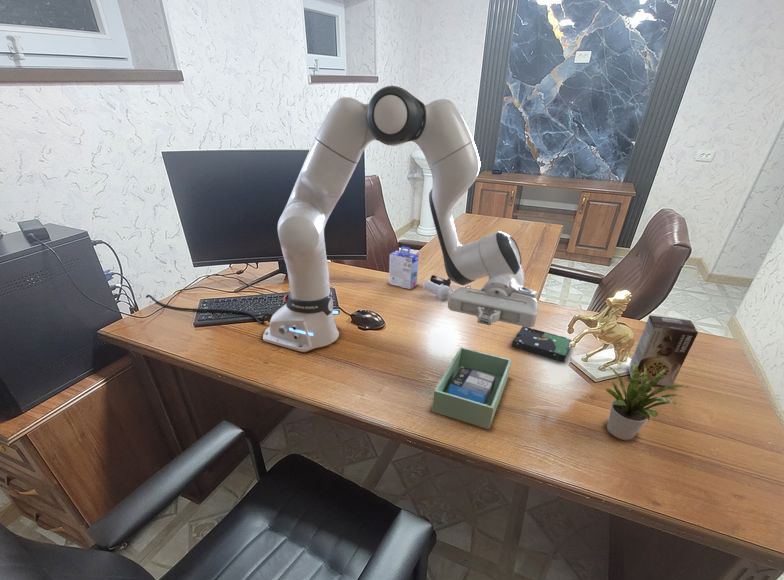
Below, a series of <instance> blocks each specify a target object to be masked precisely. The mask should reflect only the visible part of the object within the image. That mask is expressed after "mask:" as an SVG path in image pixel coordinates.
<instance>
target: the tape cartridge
mask: <svg viewBox="0 0 784 580" xmlns="http://www.w3.org/2000/svg"><path fill="white" fill-rule="evenodd" d="M494 384H495V376H493V375H489V374H486V373H482V372H479V371H476V370H472V369H469V368H465V367H461V368H460V369H459V371H458V372H457V374H456V375H455V377H454V378H453V380H452V381H451V383H450V385H449V389H448V394H452V395H455V396H459V397H462V398H465V399H469V400H472V401H476V402H479V403H482V404H486V402H487V400H488V398H489V397H490V395H491V393H492V391H493V389H494Z"/></svg>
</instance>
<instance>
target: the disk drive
mask: <svg viewBox="0 0 784 580" xmlns="http://www.w3.org/2000/svg"><path fill="white" fill-rule="evenodd" d="M571 341H572V339H571V338H567V337H565V336H562V335H558V334H553V333H550V332H547V331H542V330H539V329H535V328H533V327H524V326H521V328H520V329H519V331H518V332H517V333H516V335H515V337H514V338H513V339H512V342H511V346H510V347H511V348H513V349H515V350H518V351H521V352H525V353H528V354H532V355H535V356H538V357H541V358H545V359H549V360H552V361H555V362H558V363H563V364H564V363H565V362H566V359H567V358H568V356H569V353H570V351H571V348H572V347H569V343H570V342H571Z"/></svg>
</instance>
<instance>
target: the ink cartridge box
mask: <svg viewBox="0 0 784 580" xmlns="http://www.w3.org/2000/svg"><path fill="white" fill-rule="evenodd" d="M404 249H406V250H404ZM410 251H411V247H410V246H405V245H401V248H400V250H395V251H392V252H391V253H389V264H388V266H389V269H388V285H392V286H395V287H400V288H403V289H408V290H412V289H414V288H415V287H417V285H418V273H419V272H418V271H419V254H417V253H413V252H412V253H411V252H410Z"/></svg>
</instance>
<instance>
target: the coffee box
mask: <svg viewBox="0 0 784 580" xmlns="http://www.w3.org/2000/svg"><path fill="white" fill-rule="evenodd" d="M698 334H699V332H698V330H697V328H696V326H695V325H694V322H692V320H690V319H683V318H675V317H667V316H660V315H653V314H652V315H651V314H650V315H649V316H648V318H647V321H646V323H645V326H644V328H643V331H642V333H641V336H640V337H639V340H638V341H637V342H638V343H637V344H636V347H635V349H634V353H633V355H632V357H631V360H630V362H629V364H628V367H627V368H628V372H629V375H630V378H631V377H632V371H633V365H634V362H636V364H637V366H638V370H639V373H640V374H641V372H642V373H643V372H644V363H645V366H646V369H647V374H648V377H647V382H649V381H650V382H651V381H652V380H653V379H654V377H655V376H656V375H657V374H658V373H659V372H661V371H662V370H664V369H665V368H666V371H665V372H664V374H663V376H662V378H661V380H660V381H659V382H658V383H657V384H656V385H655V386H661V387H664V386H669V385H674V383H675V380H676V379H677V376H678V375H679V372H680V371H681V369H682V366H683V364H684V363H685V360H686V358H687V356H688V355H689V352H690V350H691V348H692V346H693V345H694V342H695V341H696V339H697V336H698ZM629 365H630V366H629ZM640 370H641V371H640ZM642 376H643V377H644V374H642ZM642 376H640V379H639V383H641V379H642Z"/></svg>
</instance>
